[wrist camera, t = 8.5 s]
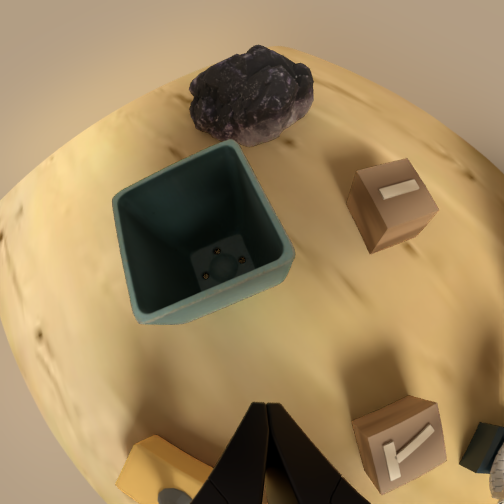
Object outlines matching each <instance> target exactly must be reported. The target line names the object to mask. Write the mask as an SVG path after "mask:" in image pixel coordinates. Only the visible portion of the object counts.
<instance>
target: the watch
mask: <svg viewBox="0 0 504 504" xmlns="http://www.w3.org/2000/svg"><path fill="white" fill-rule="evenodd" d="M459 464H460V465H462V466H463V467H465V468H467V469H469V470H471V471H473V472H475V473H486V474H490V478H489V487H490V491H491V494H492V498H495V499H500V500H499V501H498V503H497V504H504V427H501V426H496V425H491V424H486V423H482V422H480V423H479V425H478V427H477V430H476V432H475V434H474V436H473V438H472V440H471V442H470V444H469V446H468V448H467V450H466V452H465V454H464V456H463V458H462V460H461V462H460V463H459Z"/></svg>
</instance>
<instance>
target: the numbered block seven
mask: <svg viewBox="0 0 504 504" xmlns="http://www.w3.org/2000/svg"><path fill="white" fill-rule="evenodd" d="M351 422H352V425H353V429H354V433H355V436H356V440H357V444H358V447H359V451H360V455H361V459H362V463H363V467H364V470H365V472H366V473H367V475H368V476H369V478H370V479H371V481H372V482H373V484H374V485H375V487H376V488H377V489H378V491H379V492H380V494H381V495H383V494H385V493H387V492H390V491H392V490H394V489H396V488H398V487H400V486H402V485H404V484H406V483H408V482H410V481H412V480H414V479H416V478H418V477H420V476H422V475H424V474H425V473H427V472H429V471H431V470H432V469H434V468H436V467H437V466H439V465H441V464H442V463H444V462H445V461H447V457H446V450H445V443H444V436H443V430H442V425H441V419H440V414H439V409H438V404H437V403H436V402H432V401H428V400H424V399H421V398H417V397H413V396H410V395H408V396H406V397H404V398H402V399H400V400H398V401H396V402H394V403H392V404H390V405H388V406H385V407H383V408H381V409H379V410H377V411H374V412H372V413H370V414H367V415H365V416H362V417H360V418H357V419H355V420H352V421H351Z"/></svg>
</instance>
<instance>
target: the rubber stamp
mask: <svg viewBox="0 0 504 504" xmlns="http://www.w3.org/2000/svg"><path fill="white" fill-rule="evenodd" d="M212 470H213V468H212V467H210V466H208V465H206V464H205V463H203V462H201V461H199V460H197V459H196V458H194V457H192V456H190V455H189V454H187V453H185V452H183V451H182V450H180V449H178V448H177V447H175V446H174V445H172V444H170V443H169V442H167V441H166V440H164V439H163V438H161V437H160V436H158V435H153V436H151V437H149V438H147V439H144V440H142V441H140V442H138V443H136V444H135V445H134V446H133V448H132V450H131V452H130V454H129V456H128V458H127V460H126V462H125V464H124V467H123V469H122V471H121V473H120V475H119V477H118V479H117V481H116V484H115V485H116V486H117V487H118V488H119V489H120V490H121V491H122V492H124V493H125V494H126V495H128V496H129V497H131V498H132V499H134V500H135V501H136V502H138V503H139V504H189V503H190V502H191V501H192V500H193V498H194V497H195V495H196V494H197V493H198V491H199V490H200V488H201V487H202V485H203V484H204V482H205V481H206V480H208V476H209V475H210V473H211V472H212Z"/></svg>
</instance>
